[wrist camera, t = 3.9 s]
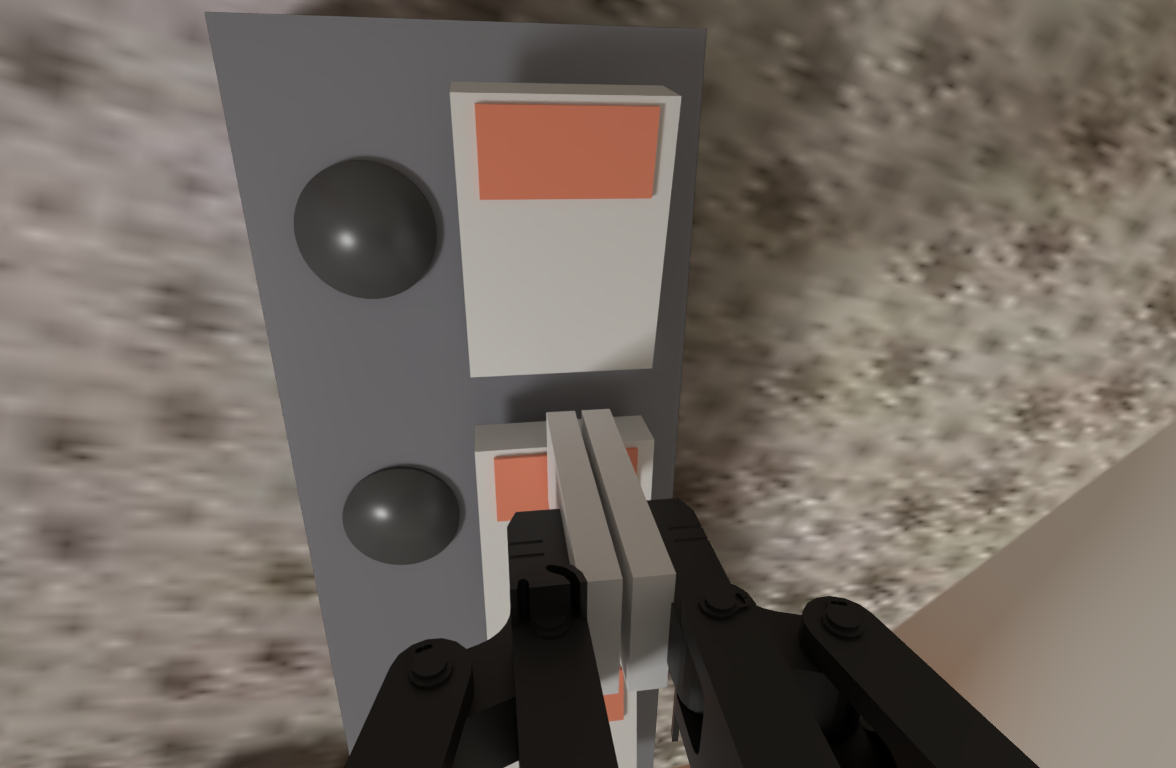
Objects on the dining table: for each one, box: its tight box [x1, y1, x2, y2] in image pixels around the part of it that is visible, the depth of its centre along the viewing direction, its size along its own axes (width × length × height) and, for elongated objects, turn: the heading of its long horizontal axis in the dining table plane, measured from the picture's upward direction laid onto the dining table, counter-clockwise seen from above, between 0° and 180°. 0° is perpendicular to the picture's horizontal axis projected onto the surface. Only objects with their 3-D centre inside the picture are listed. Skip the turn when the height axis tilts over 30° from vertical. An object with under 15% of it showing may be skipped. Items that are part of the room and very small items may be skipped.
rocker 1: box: [450, 81, 681, 377], centre depth 16 cm, size 5×7×2 cm
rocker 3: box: [504, 662, 637, 768], centre depth 23 cm, size 5×7×2 cm
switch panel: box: [205, 12, 707, 768], centre depth 23 cm, size 12×28×4 cm, turn 179°
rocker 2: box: [475, 415, 654, 640], centre depth 19 cm, size 5×7×2 cm
